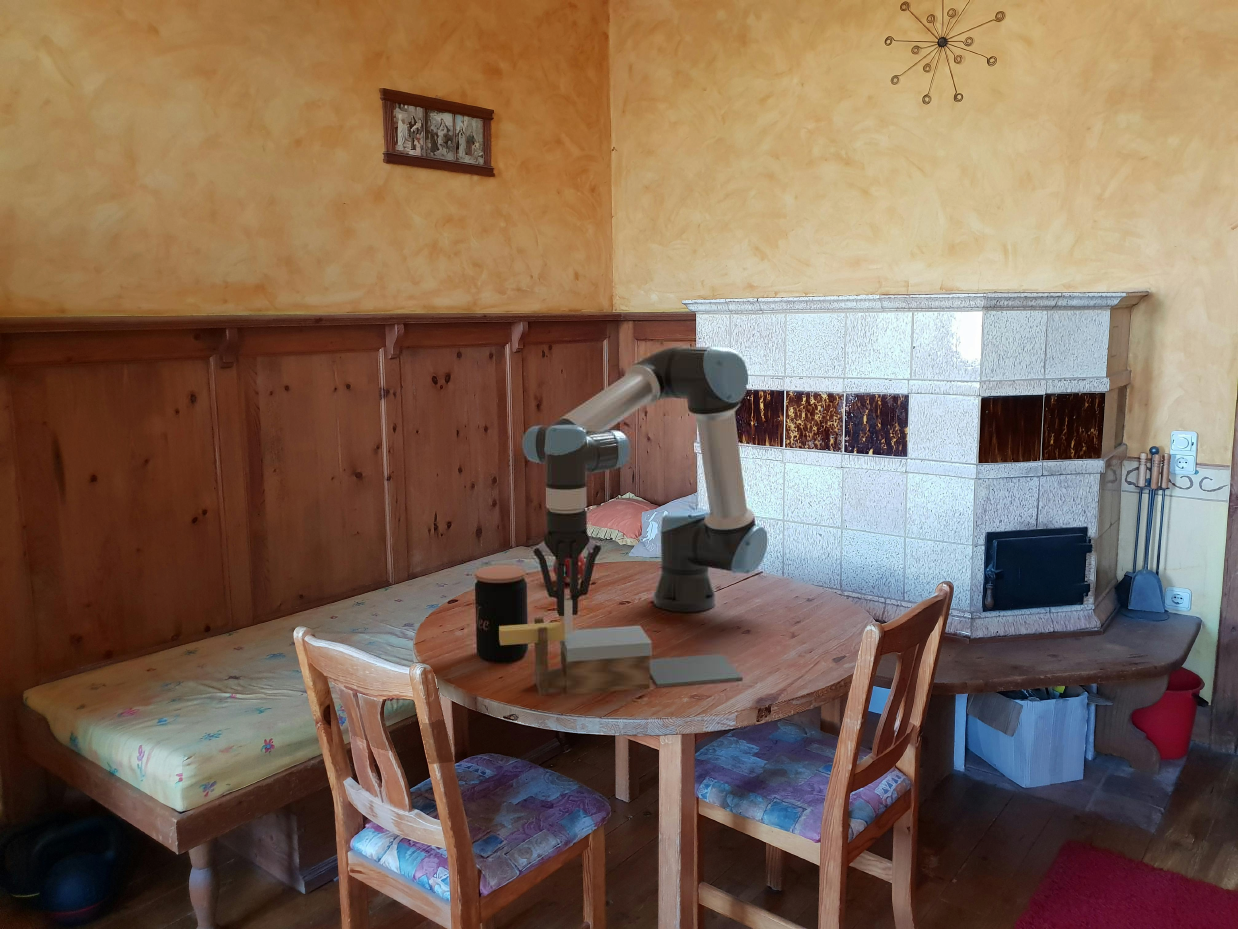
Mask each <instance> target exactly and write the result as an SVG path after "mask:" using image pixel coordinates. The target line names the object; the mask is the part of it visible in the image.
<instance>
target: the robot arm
mask: <svg viewBox="0 0 1238 929" xmlns="http://www.w3.org/2000/svg"><path fill="white" fill-rule="evenodd" d="M747 368H748V367H747V365H746V362H745V360H744V359H743V357H742V356H741V355H740V354H739V353H738V352H737V351H736V350H734V349H732V348H729V347H721V346H716V345H715V346H671V347H668V348H665V349H662V350H659V351H656V352H654V353H652V354H651V355H649V356H647V357H644V358H643V359H640V360H639V361H637V362H636V363H635V364H633V365H631V366H630V367H628V369H627V370H626V371H625V373H624V376H623V377H621V378H620V379H618V380H617V381H616V382H614V383H613V384H611V385H610V386H608V387H606V388H604V389H603V390H601V391H600V392H598V393H597V394H595V395H594V396H592V397H591V398H590V399H588V400H587V401H585V402H583V403H582V404H581V405H579V406H577V407H575V408H574V409H573V410H571V411H569V412H568V413H567V414H565V415H564V416H562V417H561V418H559V419H557V420H556V421H554V422H552V423H551V424H550V425H546V426H545V425H537V426H536V425H534V426H532V427H530V428H528V429H527V431H526V432H525V433H524V435H523V438H522V442H521V445H522V450H523V454H524V456H525V457H526V458H527V460H529V461H530V462H534V463H537V464H541V465H545V507H546V508H547V509H548V510H546V512H545V524H546V525H545V529H546V532H545V535H544V537H543V541H542V542H541V543H539V544H538V545H534V546H532V547H531V550H532V552H533V554H534V555H535V557H536V558H537V560H538V564H539V567H540V571H541V575H542V578H543V582H544V586H545V590H546V593H547V595H548V596H549V598H554V599H556V613H557V615H558V617H562V622H563V624H564V626H565V634H573V630H574V629H573V628H574V627H573V616H578V613H579V598H580V597H582V596H587V595H588V592H589V589H590V585H591V579H592V576H593V572H594V567H595V563H596V559H597V557H598V555H599V554H600V552H601V550H602V547H601V545H600V544H599V543H598V542H594V541H593V540H591V538H590V536H589V533H588V530H587V529H588V528H587V526H588V522H587V520H588V518H587V516H588V515H587V513H588V512H587V511H586V509H585V508H586V507H587V506H588V504H587V503H588V502H587V499H588V498H587V475H588V474H592V473H598V472H604V471H613V470H614V469H617V468H621V467H623V466H625V464H626V463H627V462H628V461H629V458H630V455H631V444H630V442H629V439H628V437H627V436H626V435H625V434H624V433H623V432H622V431H620V430H617V429H615V430H613V429H612V430H610V429H611V428H613V427H614V426H616V424H618V423H620V422H621V421H622V420H623V419H624V420H625V418H627V417H628V416H631V414H632V413H634V412H635V411H637V410H638V409H639V408H641V407H642V406H649V405H650V406H651V405H653V404H654V403H656V402H657V401H659V400H663V399H682V400H686V402H687V410H688V412H689V414H691V415H692V416H694V417H695V419H696V424H697V432H698V437H699V438H698V439H699V447H700V451H701V452H700V453H701V459H702V461H701V462H702V467H703V473H704V474H703V475H704V480H705V487H706V495H707V501H708V502H707V503H708V507H709V509H708V510H709V511H708V510H706V509H686V510H678V511H672V512H668V513H666V514H664V516H663V517H662V518H661V527H660V528H661V529H660V549H661V550H660V564H661V565H660V575H659V578H658V582H657V583H656V587H655V590H654V593H653V604H654V605H655V606H656V607H657V608H660V609H662V610H665V611H669V612H678V613H680V612H681V613H692V612H693V613H694V612H696V613H697V612H701V611H707V610H709V609H712V608H713V607H715V606H716V594H715V590H714V587H713V583H712V581H711V578H710V575H709V573H710V572H709V568H711V569H715V570H720V571H726V572H731V573H733V574H743V575H744V574H746V575H750V574H752V573H754V572H755V571H756V570H758V568H759V567H760V566H761V564H762V562H763V560H764V557H765V555H766V553H767V548H768V542H769V540H768V533H767V530H766V529H765V528H764V527H763V526H761V525H760V524H756V519H755V513H754V511H752V509H750V508H748V507H747V499H746V492H745V485H744V483H745V482H744V477H743V471H742V470H743V469H742V468H743V467H742V461H741V454H740V453H741V452H740V445H739V437H738V430H737V428H738V427H737V420H736V413H735V412H736V411H737V409H738V408H739V407H740V406H741V400H742V399H743V398H744V397H745V395H746V393H747V390H748V387H747V385H749V373H748V369H747ZM586 547H587V548H586ZM547 549H548V550H549V551H550V553H551V554H552V555H553V556H554V558H555V560H556V576H555V579H556V580H555V582H556V583H555V587H556V588H555V589H554V585H553V582H552V577H551V574H550V570H549V566H548V562H547V559H546V557H545V556H546V555H547ZM585 549H586V551H587V554H586V559H585V566H584V570H583V575H582V578H581V579H580V584H579V581H578V557H579V556H581V554H582V553H583V552H584V550H585ZM566 558H569V562H570V584H569V596H568V595H567V596H565V595H566V594H565V583H564V564H565V559H566Z"/></svg>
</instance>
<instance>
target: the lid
mask: <svg viewBox="0 0 1238 929" xmlns="http://www.w3.org/2000/svg"><path fill="white" fill-rule="evenodd" d="M559 646H560V649H561V648H562V650H563V653H564V655H565V657H566V660H567V662H569V661H582V660H595V659H609V658H622V657H635V656H648V655H650V656H653V653H652V652H653V643H652V640H651V639H650V638H649V636H648V635H647V633H646V632H645V630H643V628H642V627H641V625H631V626H630V625H629V626H627V625H626V626H616V627H602V628H601V627H600V628H599V627H598V628H585V629H573V634H565V641H559Z"/></svg>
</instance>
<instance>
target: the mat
mask: <svg viewBox="0 0 1238 929" xmlns="http://www.w3.org/2000/svg"><path fill="white" fill-rule="evenodd" d="M650 679H652V681H653V682H654V684H655V686H656V687H657V688H662V687H665V688H666V687H674V686H686V685H687V686H688V685H698V684H700V685H701V684H711V683H723V682H734V681H737V682H738V681H743V679H744V678H743V676H742V675H741V673H740V672H739V671H737V669H736V668H735V667H734V666H733V664H731V662H729V660H728V659H727V658H726V657H725V656H724V654H722V653H717V654H716V653H715V654H705V655H704V654H703V655H693V656H691V655H690V656H678V657H667V658H664V657H663V658H653V659H651V658H650Z"/></svg>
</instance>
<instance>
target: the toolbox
mask: <svg viewBox="0 0 1238 929" xmlns="http://www.w3.org/2000/svg"><path fill="white" fill-rule="evenodd" d="M544 620H545V619H544V617H534V621H533V622H534V623H533V624H538V623H545V622H544ZM548 646H549V644H548V633H547V627H538V643H534V660H535V661H534V665H535V666H534V667H535V670H534V672H535V674H534V676H535V685H536V688H537V692H538V696H539V697H540V698H543V697H549V694H560V693H565V695H579V694H590V693H591V694H592V693H602V692H603V693H604V692H615V691H626V690H627V691H628V690H638V689H649V688H651V676H650V659H651V655H648V656H635V657H622V658H609V659H595V660H582V661H569V662H567V660H566V657H565V655H564V653H563V650H562V648H561V647H560V667H559V668H549V650H548V649H549V648H548Z"/></svg>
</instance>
